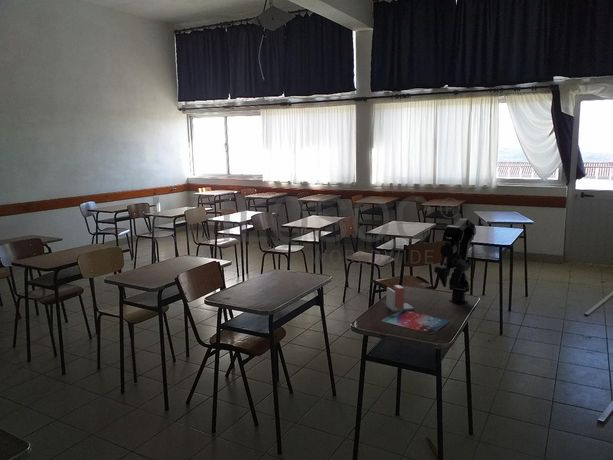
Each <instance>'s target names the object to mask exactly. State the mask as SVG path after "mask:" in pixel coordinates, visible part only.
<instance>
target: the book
mask: <svg viewBox="0 0 613 460" xmlns="http://www.w3.org/2000/svg"><path fill="white" fill-rule="evenodd" d="M392 290H394V291H395V307H396V308H397V309H400V308H404V303H405V287H404V286H401V285H400V284H396V285H393V289H392Z"/></svg>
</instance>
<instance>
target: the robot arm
mask: <svg viewBox="0 0 613 460" xmlns="http://www.w3.org/2000/svg"><path fill="white" fill-rule="evenodd" d="M476 234H477V228H476V224H474V223H473V222H472V221H471V219H470V218H467V217H465V218H463V217H461V218H458V220H457V221H456V222H454V224H448V225H447V226H446V227H445V228H444V232H443V235H442V240H441V241H442V242H444V244H442V246H441V248H440V254H441V256H443V258H444V257H445V262H444V263H443V265H442V264H440V265H436V266H435V267H434V269H433V272H434V273H435V274H437V275H438V277H439V280H440V282H441V284H442V286H443V288H447V283H448V285H449V286H448V287H449V288H448V289H449V290H450V291H452V294H451V299H449V302H451V303H454V304H456V305H462V304H466V303H468V302H469V301H468V300H466V293H469V292H470V283H469V279H468V275H467V273H466V272H468V271H469V270H470V268H471V267H472V260H471V259H469V258H468V255H469V248H470V243H472V241H474V239H475V236H476ZM451 270H453V271H452V272H451ZM450 275H451V276H450ZM449 276H450V278H449V281H448V277H449Z"/></svg>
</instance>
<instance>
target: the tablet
mask: <svg viewBox="0 0 613 460" xmlns="http://www.w3.org/2000/svg"><path fill="white" fill-rule="evenodd" d="M380 322H381V323H382V322H383V323H385V324H388V325H389V324H390V325H391V326H392V325H393V326H397V327H401V328H405V329H407V330H412V331H416V332H420V333H423V334H425V335H430V336H431V335H434V334H435V333H437V332H438V331H440V330H441V329H442V328H443V327H445V326H446V325H448V324H449V323H450V320H449V319H444V318H441V317H440V318H439V317H435V316H431V315H428V314H423V313H418V312H416V311H415V312H414V311H411V310H407V311H406V310H405V311H397V312H392V313H391V314H389V315H388V316H386V317H384V318H383V319H380Z"/></svg>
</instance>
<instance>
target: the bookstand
mask: <svg viewBox="0 0 613 460" xmlns="http://www.w3.org/2000/svg"><path fill="white" fill-rule="evenodd" d="M385 308H387V309H388V310H389V311H391V313H395V312H397V311H405V310H406V311H413V310H414V309H415V308H414V307H413V306H412V305H410V304H409V303H407V302H404V308H400V309H397V308H396V307H395V291H394V290H393V289H392V288H390V287H386V305H385Z"/></svg>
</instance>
